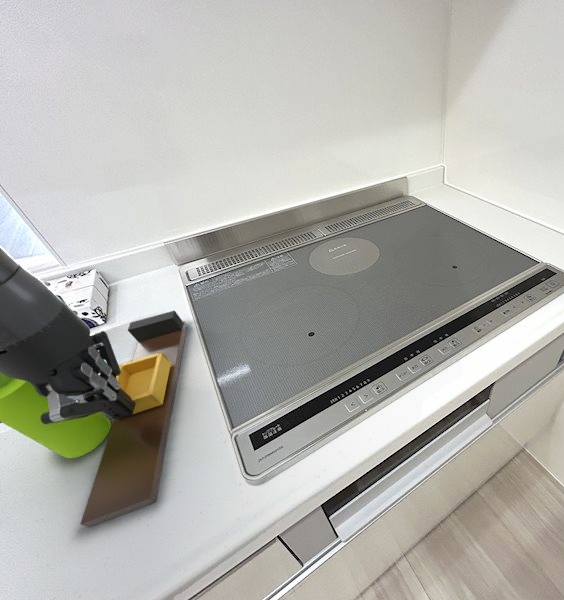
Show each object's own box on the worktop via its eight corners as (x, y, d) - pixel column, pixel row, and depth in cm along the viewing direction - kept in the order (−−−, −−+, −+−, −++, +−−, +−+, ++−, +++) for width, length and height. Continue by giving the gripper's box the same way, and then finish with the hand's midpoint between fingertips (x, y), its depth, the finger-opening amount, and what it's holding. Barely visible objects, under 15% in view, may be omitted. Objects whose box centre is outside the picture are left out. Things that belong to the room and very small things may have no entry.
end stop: (182, 329, 58) (173, 317, 56) (138, 342, 57) (127, 330, 55) (183, 322, 60) (174, 310, 58) (141, 334, 58) (130, 322, 56)
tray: (162, 404, 47) (152, 394, 45) (115, 420, 45) (102, 410, 44) (171, 362, 52) (162, 351, 51) (129, 375, 51) (118, 364, 49)
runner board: (155, 501, 38) (149, 498, 38) (87, 527, 37) (80, 524, 36) (187, 325, 61) (184, 320, 60) (145, 337, 59) (141, 332, 58)
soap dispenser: (108, 404, 49) (-16, 305, 36) (113, 438, 45) (-25, 340, 32) (60, 429, 47) (-93, 334, 33) (61, 468, 42) (-114, 376, 29)
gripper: (2, 290, 36) (109, 382, 48) (-82, 387, 27) (77, 472, 38) (80, 271, 38) (165, 364, 49) (27, 357, 28) (148, 447, 40)
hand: (126, 411), depth 44 cm, fingers closed
